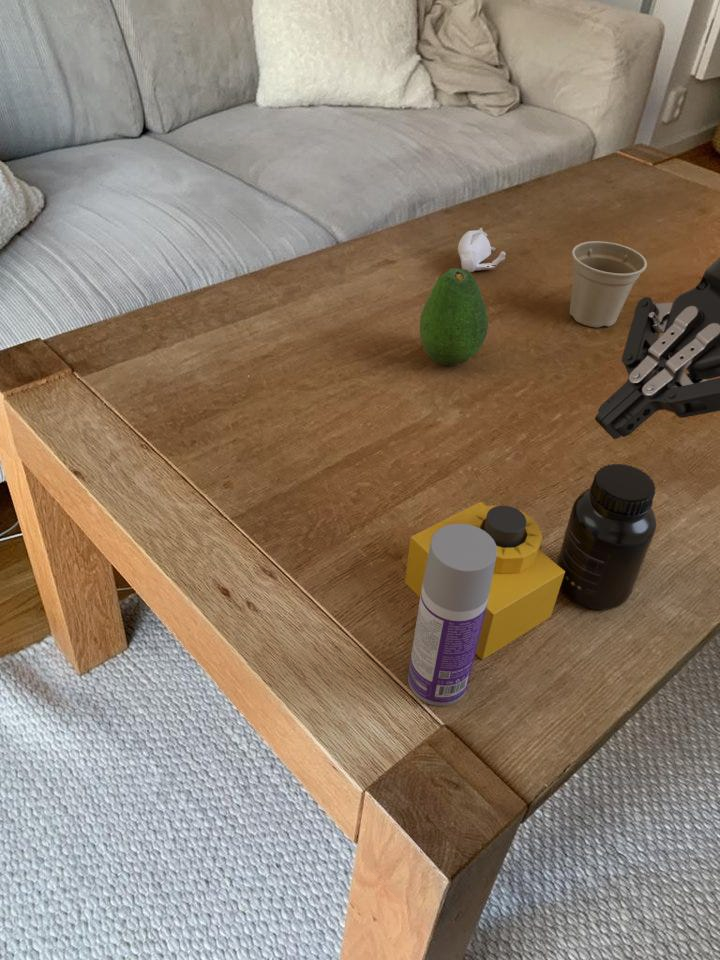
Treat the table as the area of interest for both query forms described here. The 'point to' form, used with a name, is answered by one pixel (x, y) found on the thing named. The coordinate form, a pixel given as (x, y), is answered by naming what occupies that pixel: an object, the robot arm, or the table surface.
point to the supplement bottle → (608, 537)
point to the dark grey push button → (505, 526)
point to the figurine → (476, 251)
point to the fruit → (454, 318)
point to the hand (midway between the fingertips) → (604, 429)
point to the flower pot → (602, 281)
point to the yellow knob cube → (500, 580)
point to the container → (451, 612)
